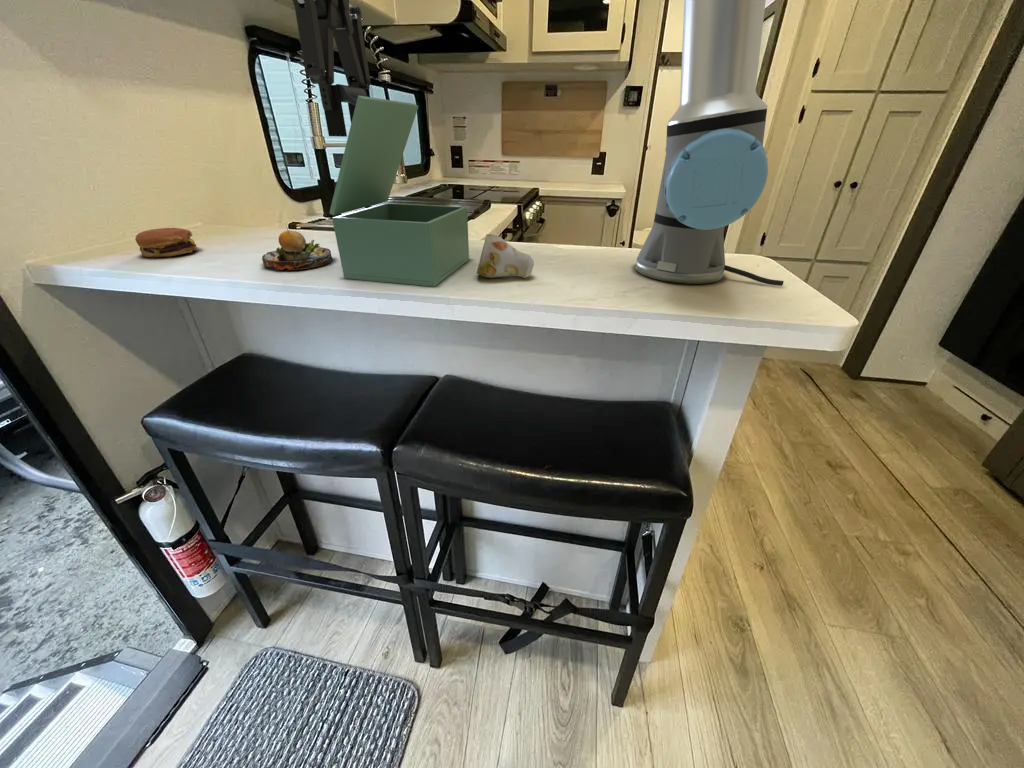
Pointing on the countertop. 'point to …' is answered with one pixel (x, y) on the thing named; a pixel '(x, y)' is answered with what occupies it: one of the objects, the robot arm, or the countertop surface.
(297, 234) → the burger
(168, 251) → the burger
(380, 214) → the cool box
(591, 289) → the countertop surface
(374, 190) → the cool box lid
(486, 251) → the mug
